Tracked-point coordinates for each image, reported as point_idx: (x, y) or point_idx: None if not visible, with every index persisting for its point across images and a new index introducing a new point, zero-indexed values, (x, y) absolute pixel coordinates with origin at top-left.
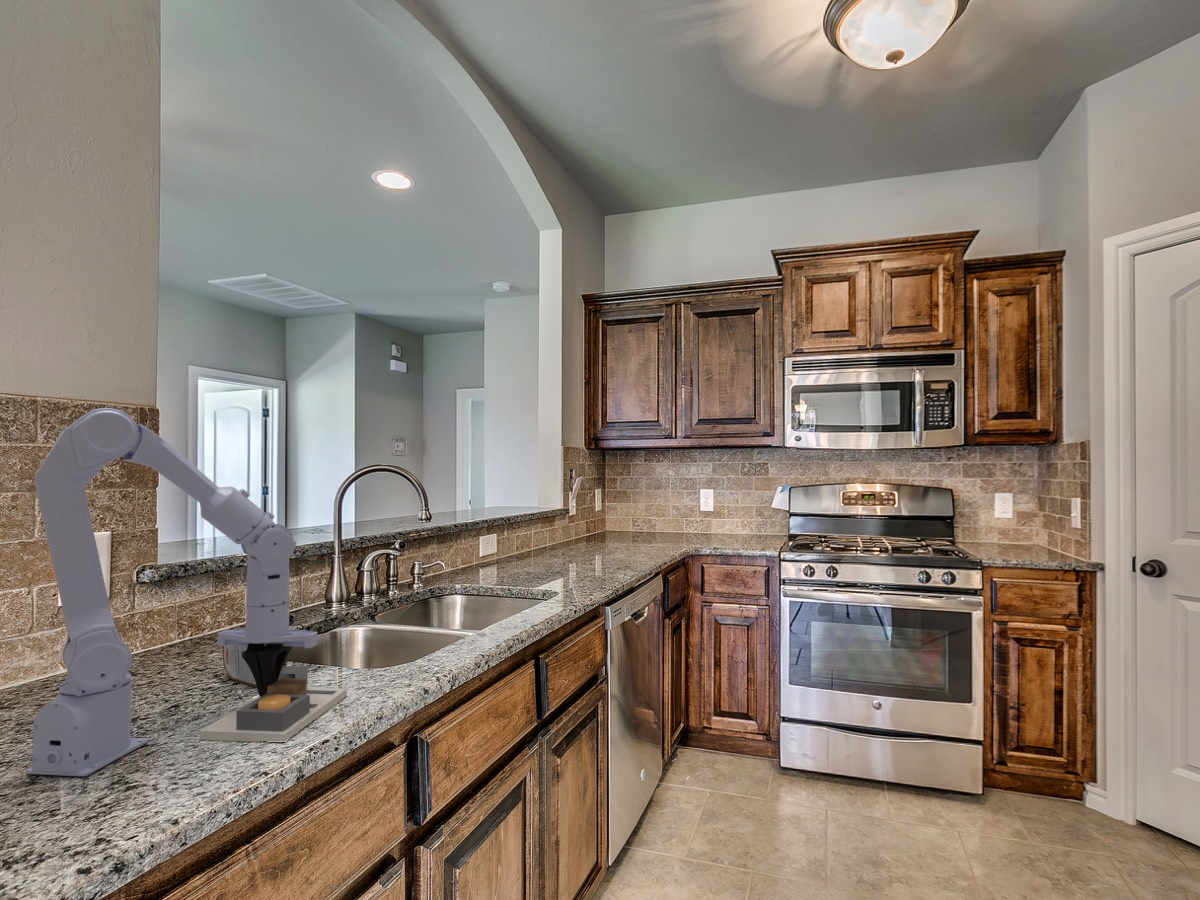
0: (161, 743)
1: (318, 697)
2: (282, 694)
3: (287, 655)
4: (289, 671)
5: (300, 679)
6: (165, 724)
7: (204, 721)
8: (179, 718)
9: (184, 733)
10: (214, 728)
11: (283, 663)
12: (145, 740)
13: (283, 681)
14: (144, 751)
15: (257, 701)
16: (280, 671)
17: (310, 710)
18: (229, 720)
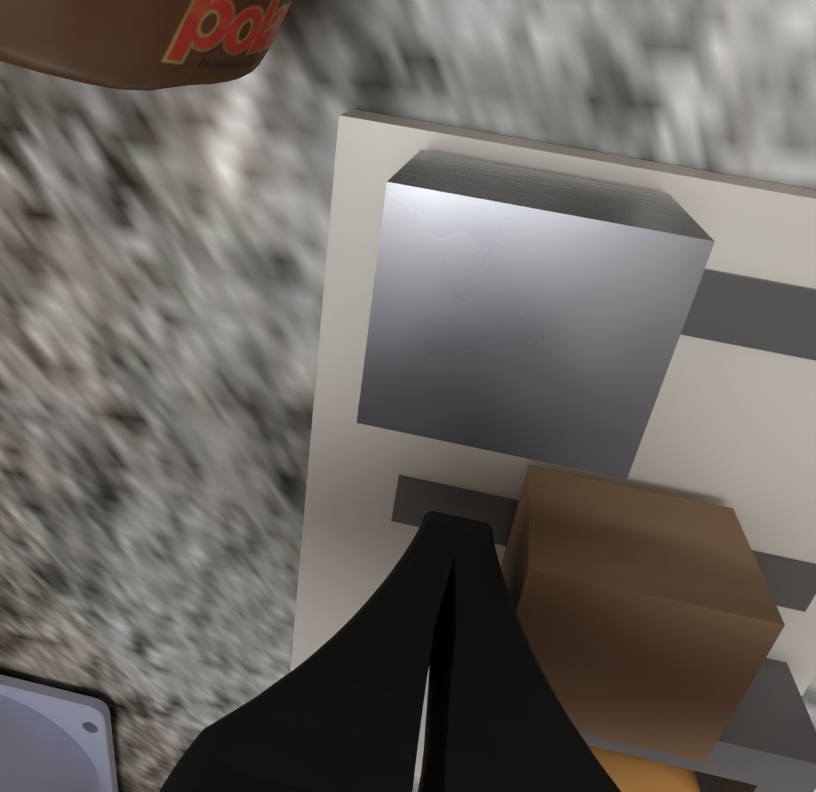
0: (161, 703)
1: (812, 430)
2: (638, 787)
3: (601, 770)
4: (538, 397)
5: (726, 631)
6: (13, 535)
7: (174, 532)
8: (16, 476)
9: (182, 639)
10: None
11: (552, 695)
12: (102, 723)
13: (578, 643)
14: (153, 746)
15: None
16: (524, 633)
17: (788, 641)
18: None
